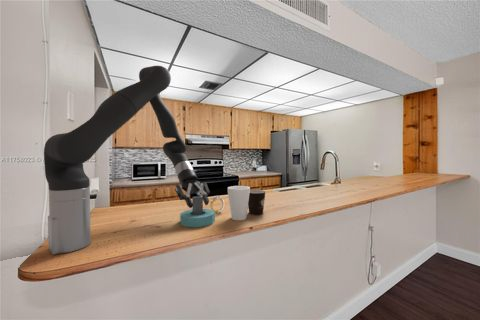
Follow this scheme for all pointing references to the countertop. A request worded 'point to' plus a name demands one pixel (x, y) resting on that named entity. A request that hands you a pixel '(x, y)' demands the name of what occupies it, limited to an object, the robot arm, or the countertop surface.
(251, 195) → the coffee mug
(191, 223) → the teal ring
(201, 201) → the gray rectangular block
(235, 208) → the foam cup
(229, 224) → the countertop surface
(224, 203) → the bracelet
